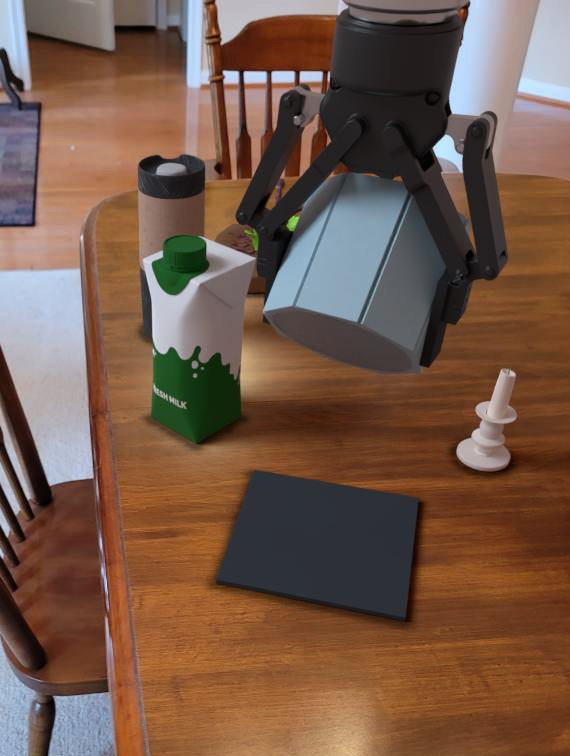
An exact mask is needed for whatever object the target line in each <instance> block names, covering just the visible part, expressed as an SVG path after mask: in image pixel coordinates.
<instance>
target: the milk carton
mask: <svg viewBox="0 0 570 756" xmlns="http://www.w3.org/2000/svg"><path fill="white" fill-rule="evenodd" d="M255 262H256V258H254V257H252V256H249V255H247V254H244V253H242V252H239V251H236V250H234V249H231V248H229V247H226V246H224V245H221V244H219V243H216V242H215V240H214V241H213V240H211V239H209V238H206V237H205V236H204V237H201V236H199V237H198V236H194V235H175V236H171V237H169V238H167V239H166V240H165V241H164V242H163V250H162V251H160V252H158V253H155V254H153V255H151V256H148V257H146V258H144V259H143V264H144V268H145V272H146V277H147V281H148V286H149V290H150V295H151V301H152V336H153V339H152V386H151V387H152V389H151V407H150V418H151V419H153V420H155V421H157V422H158V423H160V424H162V425H163V426H166V427H167V428H168V429H170V430H172V431H174V432H175V433H177V434H179V435H181V436H182V437H184V438H186V439H187V440H189V441H191V442H193V443H195V444H199V443H200V442H202V441H204V440H205V439H207V438H209V437H210V436H212V435H214V434H215V433H217V432H219V431H220V430H222V429H224V428H225V427H227V426H229V425H230V424H232V423H234V422H235V421H237V420H239V419H241V418H243V416H242V390H241V389H242V388H241V369H242V355H243V354H242V353H243V336H244V321H245V307H246V299H247V297H248V293H247V292H248V288H249V285H250V281H251V277H252V273H253V270H254V266H255Z"/></svg>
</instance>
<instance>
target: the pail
mask: <svg viewBox="0 0 570 756" xmlns="http://www.w3.org/2000/svg"><path fill="white" fill-rule="evenodd" d="M303 206H304V207H303V209H302V211H300V215H299V216H300V217H299V219H298V222H297V225H296V227H295V230H294V232H293V235H292V238H291V240H290V243H289V245H288V248H287V250H286V253H285V256H284V258H283V261H282V263H281V266H280V268H279V271H278V273H277V276H276V279H275V281H274V284H273V286H272V289H271V291H270V294H269V297H268V299H267V302H266V304H265V307H264V306H263V308H262V309H263V310H262V312H261V313H262V315H263V314H264V316H265V317H266V318H267V320H268V321H269V322H270V324H271V325H270V324H269V325H270V326H271V327H272V329H274V331H275V333H276V334H279V335H280V336H281V337H283V338H285V339H287V340H289V341H291V342H293V343H295V344H297V345H299V346H301V347H303V348H305V349H307V350H309V351H310V352H312V353H314V354H316V355H318V356H320V357H322V358H324V359H325V358H327V359H328V360H330V361H334V362H337V363H340V364H343V365H347V366H351V367H355V368H358V369H362V370H365V371H369V372H371V373H375V374H379V375H381V374H383V375H409V374H411V375H412V374H420V373H422V372H423V370H424V367H423V366H419V363H420V359H421V354H422V350H423V345H424V341H425V336H426V332H427V327H428V323H429V318H430V314H431V309H432V305H433V300H434V296H435V292H436V287H437V283H438V280H439V279H440V278H441V277H442V276H443V274H444V273H445V272H446V271H447V268H446V266H445V264H444V261H443V259H442V257H441V255H440V253H439V251H438V248H437V246H436V244H435V242H434V240H433V238H432V235H431V233H430V231H429V229H428V227H427V225H426V222H425V220H424V218H423V216H422V214H421V212H420V209H419V207H418V205H417V203H416V201H415V199H414V196H413V195H412V194H411V193H409V192H408V191H407V189H406V187H405V185H404V183H403V181H402V180H397V179H393V180H390V179H384V178H380V177H378V176H376V175H370V174H366V173H360V174H358V173H353V172H348V171H347V172H345V171H342V172H340V173H338V174H335V175H333V176H332V177H330V178H329V177H328V178H327V179H326V180H325V181H324V182H323V183H322V184H321V185H320V186H319V188H318V189H317V190H316V191H315V192H314V193H313V194H312V195H311V196H310V197H309V198H308V199H307V201H306V202H305V203H304V204H303ZM458 214H459V216H460V218H461V220H462V223H463V225H464V227H465V229H466V232H467V234H468V236H469V238H470V239H471V234H470V223H469V222H470V221H469V219H468V218H467V217H466V215H464V214H462V213H461V212H459V211H458Z"/></svg>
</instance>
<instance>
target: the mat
mask: <svg viewBox="0 0 570 756" xmlns="http://www.w3.org/2000/svg"><path fill="white" fill-rule="evenodd" d="M419 501H420V497H417V496H412V495H405V494H399V493H394V492H388V491H383V490H375V489H370V488H364V487H360V486H359V487H358V486H353V485H347V484H341V483H335V482H329V481H323V480H318V479H311V478H305V477H299V476H295V475H294V476H293V475H288V474H283V473H282V474H281V473H275V472H270V471H264V470H258V469H254V470H253V472H252V475H251V478H250V481H249V484H248V487H247V490H246V492H245V496H244V498H243V501H242V504H241V507H240V509H239V513H238V515H237V518H236V521H235V524H234V527H233V529H232V532H231V534H230V538H229V541H228V544H227V547H226V550H225V552H224V555H223V558H222V561H221V564H220V567H219V570H218V572H217V576H216V578H215V583H216V584H218V585H222V586H228V587H232V588H238V589H244V590H247V591H251V592H252V591H253V592H258V593H263V594H267V595H268V594H269V595H271V596H272V595H273V596H277V597H282V598H288V599H292V600H298V601H303V602H308V603H311V604H312V603H313V604H318V605H322V606H327V607H333V608H337V609H342V610H347V611H353V612H357V613H362V614H367V615H372V616H376V617H377V616H378V617H381V618H387V619H392V620H398V621H401V622H405V621H406V620H407V611H408V602H409V593H410V584H411V583H410V582H411V576H412V575H411V574H412V567H413V566H412V565H413V556H414V547H415V539H416V537H415V536H416V528H417V520H418V519H417V518H418V510H419V509H418V508H419Z"/></svg>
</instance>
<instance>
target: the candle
mask: <svg viewBox="0 0 570 756" xmlns="http://www.w3.org/2000/svg"><path fill="white" fill-rule="evenodd" d="M511 369H512V367H511V366H509V368H501V369H500V372H499V375H498V378H497V380H496V383H495V385H494V390H493V393H492V396H491V399H490V400H486V401H482V402H479V403H478V404H476V406H475V413H476V415H477V416H478V418H480V419H482V420H481V421H480V423H479V427H478V428H476V429H474V430H473V431H472V433H471V436H470V437H469V438H466V439H464V440H461V441H460V442H459V443H458V445H457V448H456V449H455V451H456V456H457V458H458V459H459V461H460V462H461V463H463V464H464V465H465V466H467V467H469V468H471V469H473V470H477V471H481V472H497V471H501V470H503V469H505V468H506V467H507V466H508V465H509V464H510V461H511V453H510V451H509V450H508V448H507V447H506V446H504V445H505V442H506V437H505V435H504V434H503V431H504V429H505V425H507V424H511V423H514V421H516V420H517V417H518V412H517V411H516V410H515V408H513V407H512V406H511V405H509V403H510V400H511V397H512V393H513V390H514V386H515V382H516V378H517V373H515V371H513V370H511Z"/></svg>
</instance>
